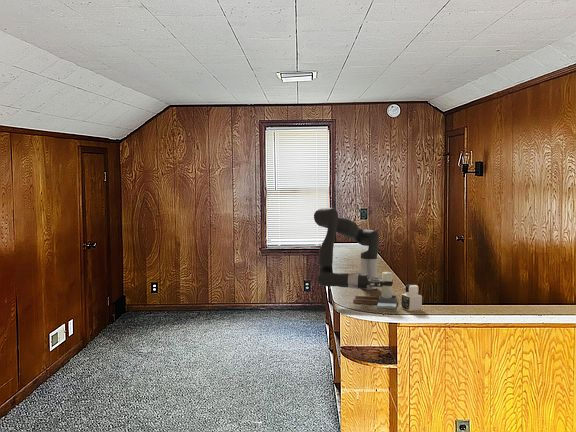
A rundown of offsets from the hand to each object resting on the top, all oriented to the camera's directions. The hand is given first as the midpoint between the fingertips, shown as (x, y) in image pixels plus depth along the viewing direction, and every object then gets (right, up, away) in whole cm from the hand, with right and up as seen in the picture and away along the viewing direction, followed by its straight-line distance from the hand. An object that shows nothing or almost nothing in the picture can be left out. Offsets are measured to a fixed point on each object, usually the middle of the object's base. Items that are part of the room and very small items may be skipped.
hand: (392, 282), depth 293 cm
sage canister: (-3, -7, +1) cm, 8 cm away
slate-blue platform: (-2, -12, +2) cm, 12 cm away
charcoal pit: (0, -11, +10) cm, 15 cm away
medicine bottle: (+9, -13, -3) cm, 16 cm away
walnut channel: (-11, -11, +12) cm, 20 cm away
